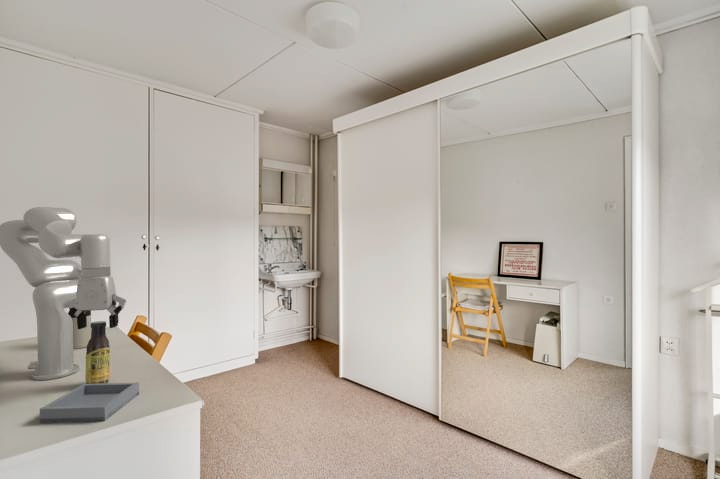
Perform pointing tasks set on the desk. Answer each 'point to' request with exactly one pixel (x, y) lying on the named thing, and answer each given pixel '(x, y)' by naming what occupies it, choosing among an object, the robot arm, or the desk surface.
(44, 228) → the robot arm
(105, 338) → the sauce bottle
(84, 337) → the travel mug
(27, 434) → the desk surface
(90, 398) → the tray
